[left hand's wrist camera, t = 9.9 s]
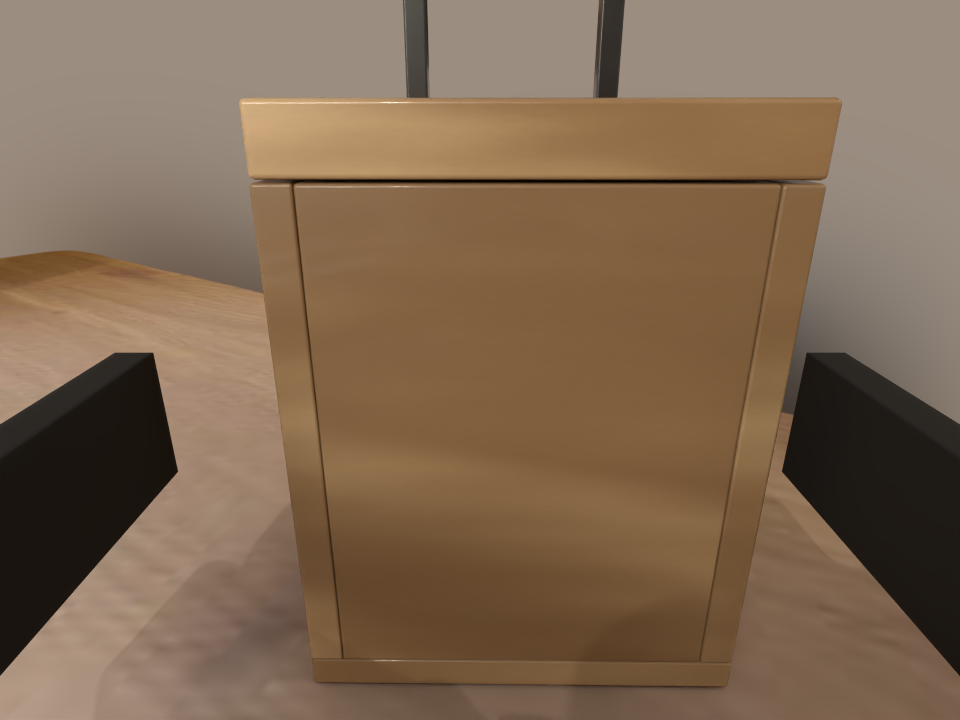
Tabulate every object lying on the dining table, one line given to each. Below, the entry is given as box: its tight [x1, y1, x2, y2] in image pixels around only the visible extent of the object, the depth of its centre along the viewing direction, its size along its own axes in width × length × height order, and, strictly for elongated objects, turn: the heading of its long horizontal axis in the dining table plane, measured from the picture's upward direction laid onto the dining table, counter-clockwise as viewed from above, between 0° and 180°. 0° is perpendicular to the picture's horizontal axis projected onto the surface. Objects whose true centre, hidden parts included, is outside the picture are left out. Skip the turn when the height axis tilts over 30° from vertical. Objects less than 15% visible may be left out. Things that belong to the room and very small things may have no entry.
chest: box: [249, 180, 826, 686], centre depth 18 cm, size 14×9×11 cm, turn 179°
